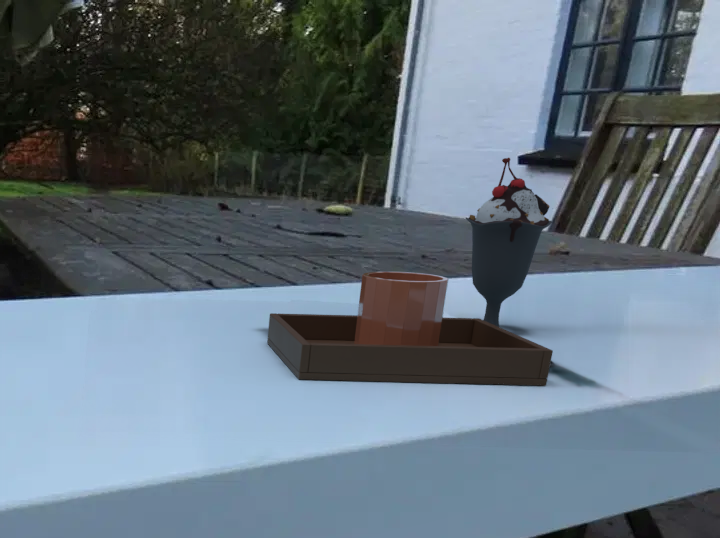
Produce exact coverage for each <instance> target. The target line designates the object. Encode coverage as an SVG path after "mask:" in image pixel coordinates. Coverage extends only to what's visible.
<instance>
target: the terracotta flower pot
mask: <svg viewBox="0 0 720 538" xmlns="http://www.w3.org/2000/svg"><path fill="white" fill-rule="evenodd" d="M449 280H450V279H449V278H448V277H446V276H442V275H436V274H430V273H422V272H410V271H409V272H407V271H370V272H364V273H363V274H362V275H361V284H360V291H359V299H358V307H357V308H358V309H357V315H358V316H357V324H356V333H355V341H354V344H374V345H414V346H439V339H440V333H441V326H442V320H443V318H444V311H445V305H446V299H447V292H448V286H449Z"/></svg>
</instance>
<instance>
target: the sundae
mask: <svg viewBox="0 0 720 538" xmlns="http://www.w3.org/2000/svg"><path fill="white" fill-rule="evenodd" d="M501 161H502V162H503V164H504V166H503V170H502V173H501V176H500V180H499V183H498V185H497V186H495V187H493V189H492V191H491V195H492V196H493V197H491V198H489V199H488V200H486V201H485V202H484V203H483V204H481V206H480V207H479V208H478V209H477V210H476V211H477V213H476V215H473V214H470V215H469V217H465V220H466V221H468V222H469V223H470V225H471V229H472V230H471V231H472V233H471V234H472V235H471V236H472V237H471V238H472V250H471V278H472V285H473V286H474V288H475V290H476V291H477V293H479V295H481V296H482V297H483V298H484V299H485V302H486V305H485V312H484V316H483V319H482V320H484V321H486V322H488V323H491V324H493V325H495V326H498V327H500V311H501V306H502V304H503V302H504V301H505V300H507V299H508V298H510V297H512V296H514V295H515V294H516V293H517V292H519V290H520V289H521V288H522V287H523V285H524V283H525V280H526V279H527V276H528V273H529V270H530V267H531V264H532V261H533V257H534V255H535V251H536V248H537V245H538V243H539V240H540V238H541V234H542V232H543V230H544V229H547V228H548V227H550V226H551V225H552V223H553V221H552V220H550V219H549V218H547V217H546V216H545V215H546V214H547V213H548V211H549V210H550V205H549V204H548V203H547V202H546V201H545V200H544V199H543V198H541V196H539V195H538V194H535V193H534V191H532V190H533V189H532V188H529V187H527V185H526V182H525V180H524V179H523V178H520V177H519V178H518V177H516V175H515V174H514V173H513V170H512V168H511V167H510V165H511V162H510V161H511V157H506V158H502V159H501ZM507 167H508V171H509V173H510V174H511V176H512V177H513V179H512V180H510V182H509V184H508V185H505V184H502V183H503V180H504V176H505V173H506V169H507Z"/></svg>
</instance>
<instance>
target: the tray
mask: <svg viewBox="0 0 720 538" xmlns="http://www.w3.org/2000/svg"><path fill="white" fill-rule="evenodd" d="M357 316H358V314H357V315H355V314H354V315H352V314H317V313H316V314H313V313H312V314H311V313H310V314H309V313H269V319H268V320H269V321H268V331H267V345H268V346H269V347H270V348H271V349H272V350H273V351H274V352H275V354H276V355H277V356H278V357H279V359H281V361H282V362H283V363H284V364H285V366H286V367H287V368H288V369H289V370H290V371H291V372H292V373H293V375H295V377H296V378H297V379H298V380H302V381H303V380H307V381H350V382H382V383H383V382H387V383H421V384H422V383H423V384H424V383H427V384H430V383H431V384H459V385H460V384H463V385H464V384H465V385H466V384H467V385H500V386H501V385H503V386H504V385H505V386H539V387H541V386H542V387H543V386H544V387H546V386H547V383H548V378H549V372H550V367H551V362H552V358H553V353H554V352H553V351H554V350H552V349H550V348H548V347H546V346H543V345H541V344H539V343H536V342H535V341H532V340H529V339H528V338H525V337H523V336H520V335H519V334H516V333H513V332H511V331H509V330H507V329H504V328H502V327H500V326H499V327H498V326H495V325H493V324H491V323H488V322H486V321H484V320H483V319H482V318H480V317H479V318H478V317H476V318H475V317H473V318H471V317H443V320H442V326H441V333H440V339H439V346H414V345H374V344H354V341H355V333H356V324H357Z"/></svg>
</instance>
